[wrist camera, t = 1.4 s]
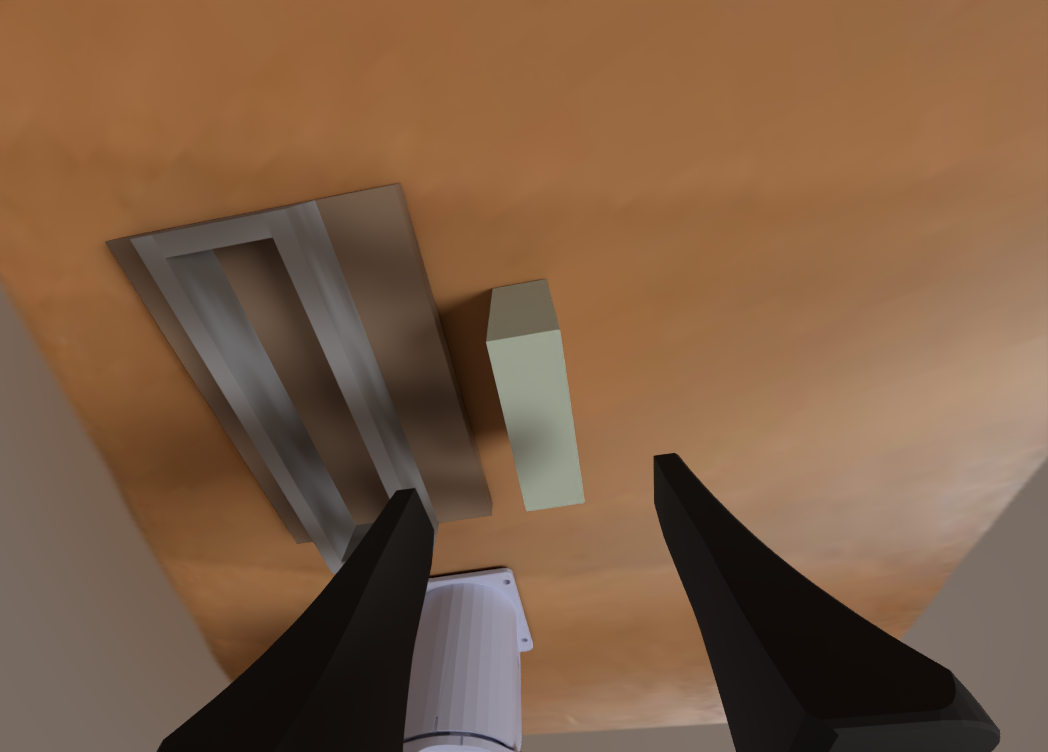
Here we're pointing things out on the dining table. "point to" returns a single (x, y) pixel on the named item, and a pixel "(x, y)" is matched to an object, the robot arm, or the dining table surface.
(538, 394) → the panel
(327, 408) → the grey metal tray
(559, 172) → the dining table surface
